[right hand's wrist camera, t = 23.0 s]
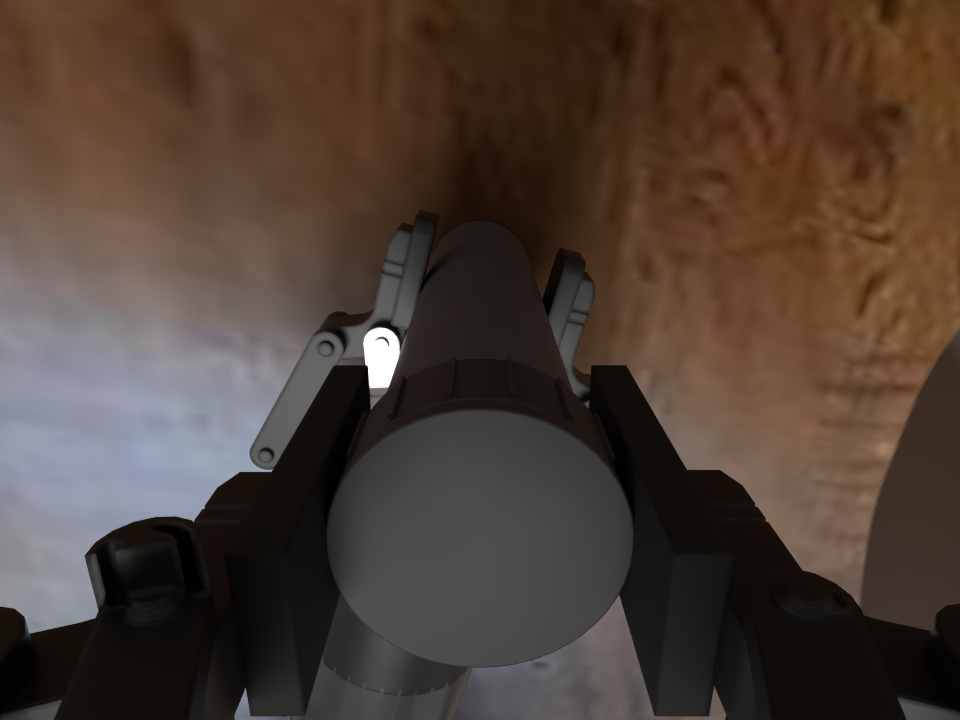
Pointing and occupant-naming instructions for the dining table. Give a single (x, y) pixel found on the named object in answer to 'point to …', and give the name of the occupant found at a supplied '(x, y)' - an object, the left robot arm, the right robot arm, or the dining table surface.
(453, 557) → the lid
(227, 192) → the dining table surface
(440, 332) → the dark grey bottle
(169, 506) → the dining table surface
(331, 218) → the dining table surface
